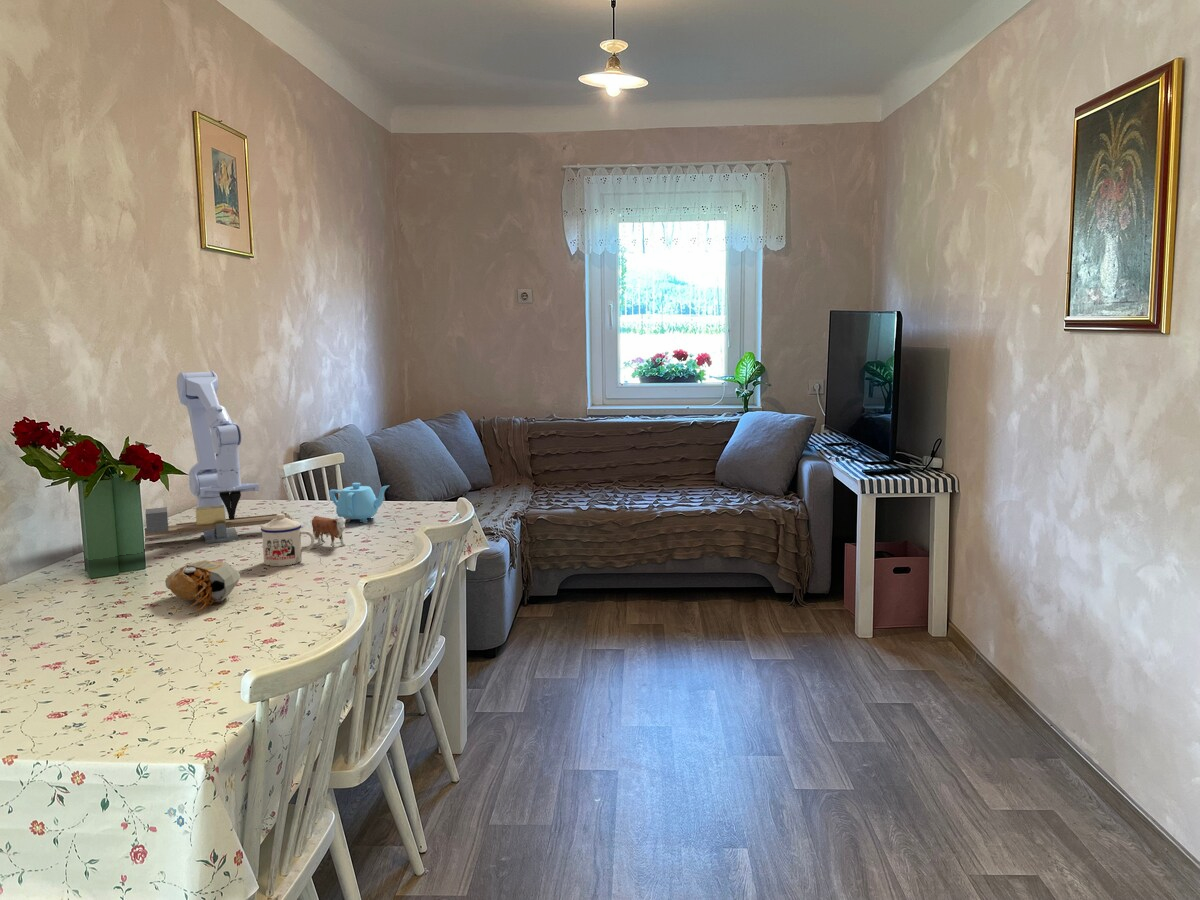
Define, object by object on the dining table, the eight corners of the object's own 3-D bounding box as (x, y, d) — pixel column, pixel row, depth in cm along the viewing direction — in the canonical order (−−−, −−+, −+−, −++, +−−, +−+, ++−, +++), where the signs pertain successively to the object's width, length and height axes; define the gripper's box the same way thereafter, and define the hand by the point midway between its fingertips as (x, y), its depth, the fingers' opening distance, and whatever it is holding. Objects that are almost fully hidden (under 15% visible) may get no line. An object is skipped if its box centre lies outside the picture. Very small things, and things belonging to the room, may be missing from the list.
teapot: (329, 521, 264) (325, 483, 262) (374, 512, 273) (371, 476, 271) (346, 528, 254) (343, 490, 252) (393, 519, 263) (390, 481, 261)
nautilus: (228, 619, 175) (146, 628, 173) (250, 582, 196) (177, 590, 193) (222, 580, 174) (139, 589, 171) (245, 547, 194) (171, 555, 192)
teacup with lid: (259, 568, 211) (256, 519, 209) (266, 558, 220) (263, 511, 218) (313, 565, 213) (310, 516, 211) (317, 555, 222) (315, 509, 220)
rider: (196, 523, 241) (195, 507, 241) (224, 521, 244) (223, 504, 244) (197, 526, 238) (195, 510, 237) (225, 523, 241) (224, 507, 240)
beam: (145, 530, 238) (143, 509, 237) (288, 516, 253) (287, 496, 253) (145, 536, 231) (143, 514, 230) (292, 521, 247) (290, 500, 246)
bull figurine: (341, 550, 226) (339, 519, 225) (309, 543, 234) (307, 512, 233) (355, 547, 230) (353, 516, 229) (323, 540, 238) (321, 510, 237)
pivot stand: (203, 534, 246) (202, 518, 246) (234, 531, 250) (233, 515, 249) (205, 543, 235) (204, 526, 235) (238, 540, 239) (237, 523, 238)
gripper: (199, 473, 235) (203, 525, 237) (258, 469, 241) (261, 519, 243) (198, 470, 241) (201, 520, 243) (255, 466, 247) (259, 514, 249)
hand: (231, 519), depth 243 cm, fingers closed
